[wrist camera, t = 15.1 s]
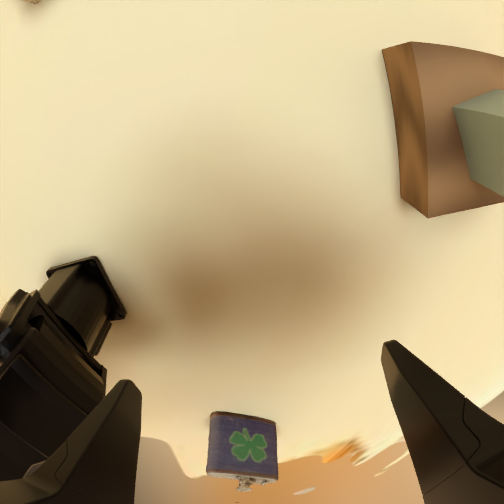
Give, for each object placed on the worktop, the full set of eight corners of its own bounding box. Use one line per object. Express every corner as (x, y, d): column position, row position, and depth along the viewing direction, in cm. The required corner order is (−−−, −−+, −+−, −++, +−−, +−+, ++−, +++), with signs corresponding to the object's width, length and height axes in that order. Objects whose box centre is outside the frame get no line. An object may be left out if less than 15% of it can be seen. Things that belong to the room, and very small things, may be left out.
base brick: (381, 49, 14) (410, 41, 11) (487, 60, 13) (520, 62, 10) (400, 197, 19) (427, 218, 16) (495, 181, 18) (524, 197, 15)
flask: (208, 416, 34) (202, 488, 24) (215, 407, 32) (210, 484, 23) (270, 428, 36) (274, 495, 26) (280, 420, 34) (286, 490, 25)
